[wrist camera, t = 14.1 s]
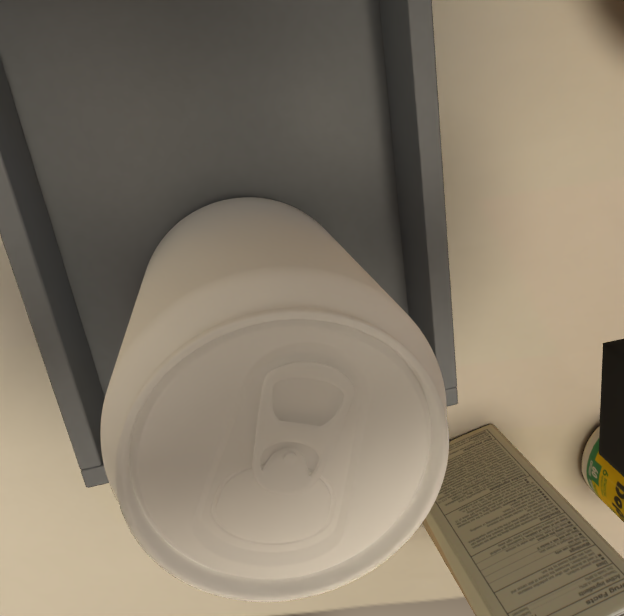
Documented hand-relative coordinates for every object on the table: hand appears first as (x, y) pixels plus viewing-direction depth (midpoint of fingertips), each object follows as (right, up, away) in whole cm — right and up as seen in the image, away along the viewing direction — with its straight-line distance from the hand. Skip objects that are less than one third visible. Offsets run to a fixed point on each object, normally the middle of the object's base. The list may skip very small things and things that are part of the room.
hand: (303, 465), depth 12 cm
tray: (-3, +7, +11) cm, 14 cm away
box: (+7, -5, +17) cm, 20 cm away
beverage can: (-2, +4, +12) cm, 13 cm away
